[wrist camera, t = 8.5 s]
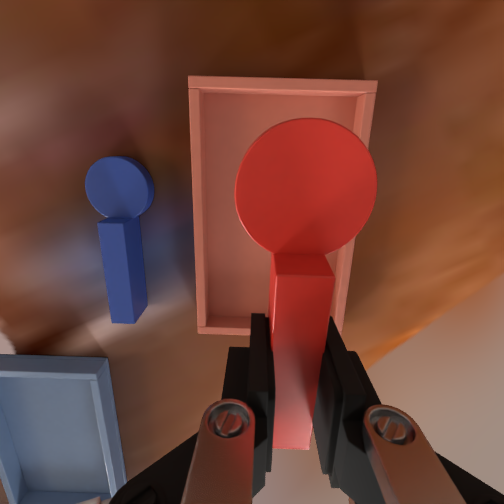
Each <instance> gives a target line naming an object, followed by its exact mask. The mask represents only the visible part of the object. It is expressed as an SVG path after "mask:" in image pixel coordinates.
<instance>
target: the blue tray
mask: <svg viewBox="0 0 504 504" xmlns="http://www.w3.org/2000/svg"><path fill="white" fill-rule="evenodd" d="M0 478H1V481H2V484H3V487H4V490H5V492H6V495H7V498H8V501H9V504H77V503H80V502H83V501H86V500H90V499H93V498H96V497H99V496H100V500H101V501H103V500H106V499H109V498H112V497H113V496H114V495H115V493H116V492H117V491H118V490H119V489H120V488H121V487H122V486H123V485H124V484H126V483H127V478H126V472H125V465H124V459H123V453H122V446H121V440H120V433H119V427H118V421H117V414H116V408H115V401H114V395H113V389H112V382H111V376H110V369H109V363H108V358H103V357H73V356H42V355H11V354H0Z"/></svg>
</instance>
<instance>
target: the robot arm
mask: <svg viewBox="0 0 504 504" xmlns="http://www.w3.org/2000/svg"><path fill="white" fill-rule="evenodd" d="M275 401H276V384H275V370H274V356H273V351H271V345H270V328H269V317H265V313H251V329H250V347H229V352H228V359H227V366H226V372H225V379H224V385H223V392H222V399H221V400H220V401H216V402H215V403H213V404H212V405H210V406H209V407H208V408H207V410H206V411H205V413H204V415H203V417H202V421H201V425H200V429H199V432H197V433H196V434H194V435H193V436H192V437H190V438H189V439H187V440H186V441H185V442H183V443H182V444H180V445H179V446H178V447H176V448H175V449H173V450H172V451H171V452H169V453H168V454H166V455H165V456H163V457H162V458H161V459H159V460H158V461H156V462H155V463H154V464H152V465H151V466H149V467H148V468H147V469H145V470H144V471H142V472H141V473H140V474H138V475H137V476H135V477H134V478H132V479H131V480H130V481H128V482H127V483H126V484H124V485H123V486H122V487H121V488H120V489H119V490H118V491H117V492H116V493H115V495H114V496H113V497H112V498H109V499H106V500H103V501H101V500H100V496H99V497H96V498H93V499H90V500H86V501H83V502H80V503H77V504H252V498H253V497H254V496H255V495H256V494H257V493H258V492H259V491H260V490H261V489H262V488H263V487H264V486H265V473H266V472H271V463H272V448H273V432H274V417H275ZM312 423H313V428H314V433H315V439H316V444H317V448H318V454H319V459H320V464H321V469H322V472H323V474H328V475H329V479H330V484H331V487H332V488H340V489H341V490H342V491H343V492H344V493H345V494H347V495H348V496H349V504H504V495H503V494H501V493H500V492H498V491H496V490H495V489H493V488H492V487H490V486H488V485H487V484H485V483H484V482H482V481H481V480H479V479H477V478H476V477H474V476H473V475H471V474H469V473H468V472H466V471H465V470H463V469H462V468H460V467H459V466H457V465H455V464H453V463H452V462H451V461H449V460H447V459H446V458H444V457H443V456H441V455H440V454H438V453H436V452H435V451H434V450H433V449H432V447H431V445H430V444H429V442H428V440H427V439H426V437H425V436H424V434H423V432H422V431H421V429H420V427H419V426H418V425H417V423H416V422H415V421H414V420H413V419H412V418H411V417H410V416H409V415H408V414H406V413H405V412H403V411H401V410H400V409H398V408H395V407H392V406H389V405H382V404H381V402H380V400H379V398H378V396H377V394H376V391H375V389H374V388H373V385H372V383H371V381H370V379H369V377H368V375H367V373H366V371H365V369H364V367H363V365H362V363H361V361H360V358H359V356H358V355H357V353H356V352H355V351H347V349H346V347H345V345H344V343H343V340H342V338H341V336H340V334H339V331H338V329H337V327H336V324H335V322H334V320H333V318H332V316H330V318H329V325H328V332H327V338H326V345H325V351H324V353H323V355H322V361H321V368H320V374H319V381H318V387H317V394H316V401H315V407H314V414H313V420H312Z"/></svg>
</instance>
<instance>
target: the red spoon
mask: <svg viewBox="0 0 504 504" xmlns="http://www.w3.org/2000/svg"><path fill="white" fill-rule="evenodd" d="M376 194H377V174H376V168H375V165H374V161H373V159H372V157H371V154H370V152H369V150H368V149H367V147H366V146H365V144H364V143H363V142H362V141H361V140H360V138H359V137H358V136H357V135H356V134H354V133H353V132H352V131H351V130H349V129H348V128H346V127H344V126H343V125H341V124H338V123H336V122H334V121H331V120H326V119H322V118H296V119H290V120H286V121H283V122H281V123H278V124H276V125H274V126H272V127H270V128H269V129H267V130H266V131H264V132H263V133H262V134H261V135H260V136H259V137H257V138H256V140H255V141H254V142H253V143H252V144H251V145H250V147H249V148H248V150H247V151H246V153H245V155H244V157H243V159H242V161H241V164H240V166H239V169H238V172H237V175H236V180H235V188H234V198H235V206H236V211H237V214H238V217H239V219H240V221H241V223H242V225H243V227H244V229H245V230H246V232H247V233H248V234H249V236H250V237H251V238H252V239H253V240H254V241H255V242H256V243H257V244H259V245H260V246H261V247H263V248H264V249H266V250H267V251H269V252H271V268H270V287H269V306H268V317H269V328H270V345H271V351H273V356H274V370H275V384H276V401H275V417H274V432H273V448H279V449H304V450H308V449H309V448H310V443H311V436H312V430H313V423H312V420H313V414H314V407H315V401H316V394H317V387H318V381H319V374H320V368H321V361H322V355H323V353H324V351H325V345H326V338H327V332H328V325H329V318H330V312H331V305H332V299H333V292H334V286H335V279H336V277H335V275H334V273H333V271H332V269H331V267H330V264H329V262H328V260H327V258H326V256H325V255H327V254H330V253H332V252H334V251H336V250H338V249H340V248H341V247H343V246H344V245H346V244H347V243H348V242H350V241H351V240H352V239H353V238H354V237H355V236H356V235H357V234H358V233H359V232H360V231H361V229H362V228H363V226H364V225H365V224H366V222H367V220H368V218H369V216H370V214H371V212H372V209H373V207H374V203H375V199H376Z"/></svg>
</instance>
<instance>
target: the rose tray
mask: <svg viewBox="0 0 504 504" xmlns="http://www.w3.org/2000/svg"><path fill="white" fill-rule="evenodd" d="M377 84H378V81H377V80H344V79H305V78H266V77H227V76H188V87H189V112H190V139H191V165H192V191H193V218H194V244H195V271H196V297H197V323H198V333H199V334H227V335H250V329H251V313H265V317H268V306H269V287H270V268H271V252H269V251H267V250H266V249H264V248H263V247H261V246H260V245H259V244H257V243H256V242H255V241H254V240H253V239H252V238H251V237H250V236H249V234H248V233H247V232H246V230H245V229H244V227H243V225H242V223H241V221H240V219H239V217H238V214H237V211H236V206H235V198H234V188H235V180H236V175H237V172H238V169H239V166H240V164H241V161H242V159H243V157H244V155H245V153H246V151H247V150H248V148H249V147H250V145H251V144H252V143H253V142H254V141H255V140H256V138H257V137H259V136H260V135H261V134H262V133H263V132H264V131H266V130H267V129H269V128H270V127H272V126H274V125H276V124H278V123H281V122H283V121H286V120H290V119H296V118H322V119H326V120H331V121H334V122H336V123H338V124H341V125H343V126H344V127H346V128H348V129H349V130H351V131H352V132H353V133H354V134H356V135H357V136H358V137H359V138H360V140H361V141H362V142H363V143H364V144H365V146H366V147H367V149H368V146H369V139H370V132H371V125H372V118H373V111H374V104H375V97H376V91H377ZM355 237H356V236H355ZM355 237H354V238H353V239H352V240H351V241H350V242H348V243H347V244H346V245H344V246H343V247H341V248H340V249H338V250H336V251H334V252H332V253H330V254H327V255H325V256H326V258H327V260H328V262H329V264H330V267H331V269H332V271H333V273H334V275H335V277H336V279H335V286H334V292H333V299H332V305H331V312H330V316H332V318H333V320H334V322H335V324H336V327H337V329H338V331H339V334H340V336H341V335H342V328H343V321H344V314H345V307H346V300H347V293H348V286H349V279H350V272H351V265H352V258H353V251H354V244H355Z"/></svg>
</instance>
